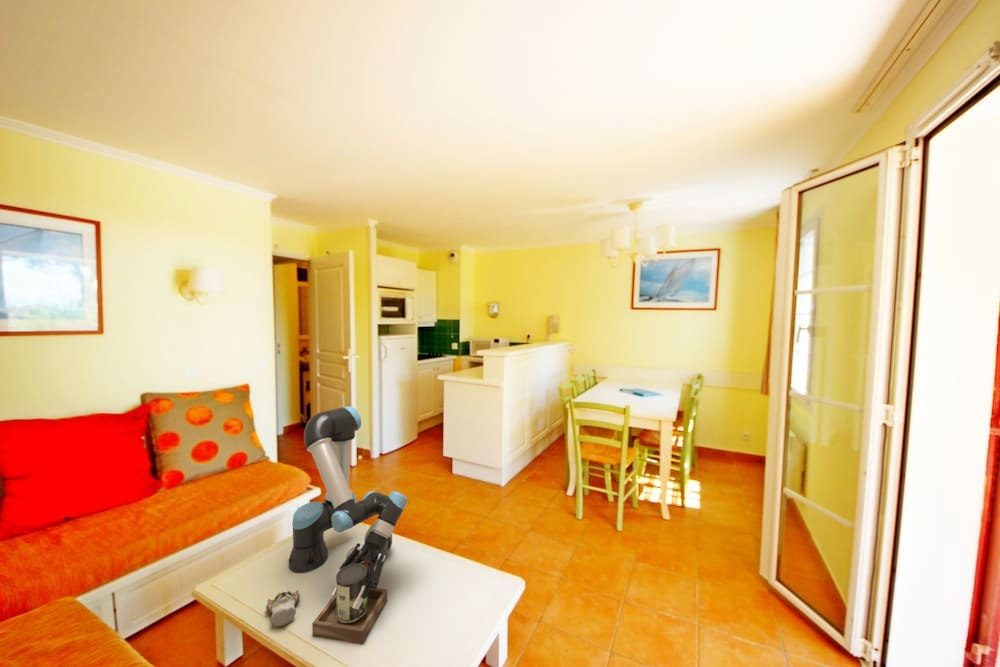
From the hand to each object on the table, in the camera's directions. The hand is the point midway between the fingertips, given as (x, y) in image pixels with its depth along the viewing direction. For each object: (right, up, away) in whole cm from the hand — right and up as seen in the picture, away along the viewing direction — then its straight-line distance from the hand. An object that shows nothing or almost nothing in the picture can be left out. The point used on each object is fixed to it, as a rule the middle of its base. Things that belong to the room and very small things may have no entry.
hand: (344, 602), depth 126 cm
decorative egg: (0, -6, +36) cm, 36 cm away
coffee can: (+1, -6, +3) cm, 6 cm away
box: (+1, -8, +3) cm, 8 cm away
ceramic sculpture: (-23, -8, +4) cm, 25 cm away
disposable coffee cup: (-3, -7, +21) cm, 22 cm away
